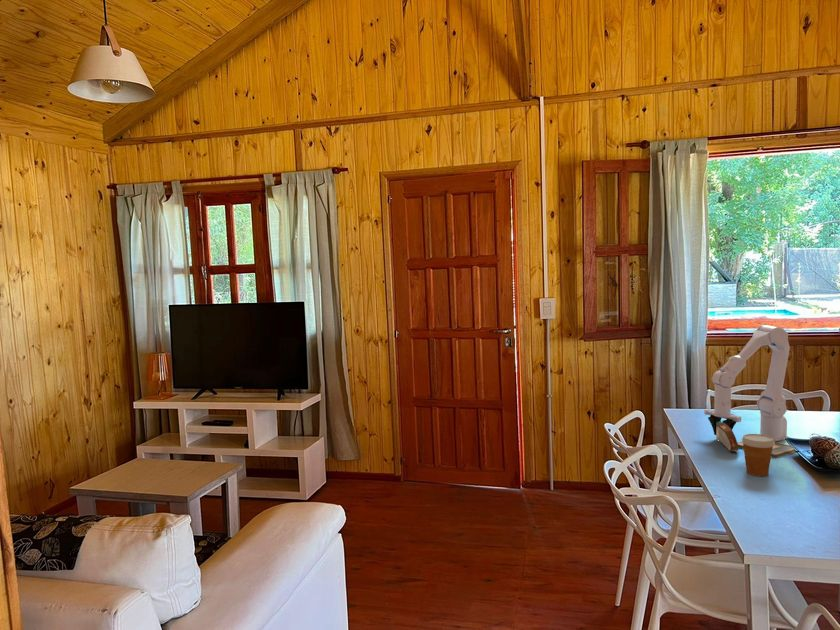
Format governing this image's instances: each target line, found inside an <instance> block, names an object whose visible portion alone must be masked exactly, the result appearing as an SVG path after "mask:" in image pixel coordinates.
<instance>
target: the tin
mask: <svg viewBox="0 0 840 630" xmlns="http://www.w3.org/2000/svg"><path fill="white" fill-rule="evenodd" d="M717 430H718V433H719V437H720V440H721V444H722V445H723V446H724V447H725V448H726V449H727V450H728V451H729V452H730V453H731V452H736V451H737V452H738V451H739V448H738V443H737V442H738V440H737V437H736V436H735V434H734V431H733V429H732V430H731V429H730V428H729V427H728V426H727V425H726V424H725V423H723V424H718V425H717Z"/></svg>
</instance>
